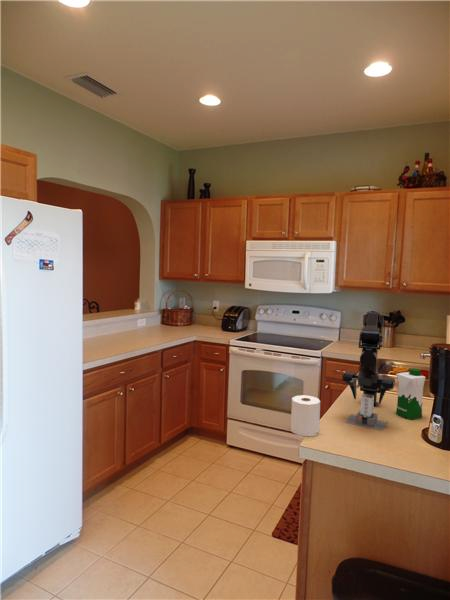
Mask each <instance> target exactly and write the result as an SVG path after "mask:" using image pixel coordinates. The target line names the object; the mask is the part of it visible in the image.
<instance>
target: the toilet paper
mask: <svg viewBox="0 0 450 600" xmlns="http://www.w3.org/2000/svg"><path fill="white" fill-rule="evenodd" d="M290 414H291V415H290V416H291V417H290V418H291V419H290V430H291V432H292V433H293V434H295V435H296V436H301V437H307V436H308V437H314V436H315V437H316V436H317V435H318V434H319V431H320V421H321V419H320V418H321V400H320V399H319V398H318V397H316V396H314V395H313V396H312V395H305V394H302V395H301V394H300V395H295V396H293V397H291V413H290ZM308 434H309V435H308Z"/></svg>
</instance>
